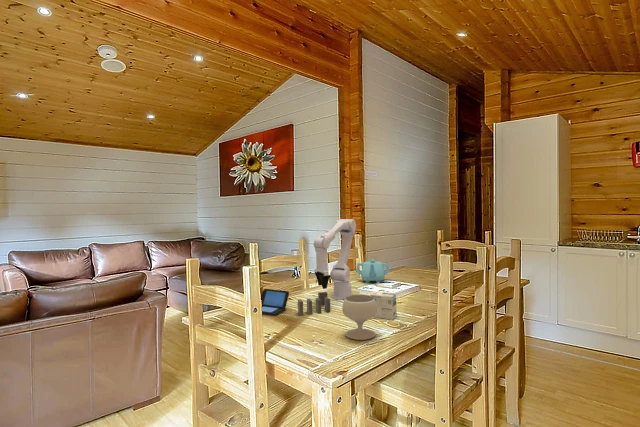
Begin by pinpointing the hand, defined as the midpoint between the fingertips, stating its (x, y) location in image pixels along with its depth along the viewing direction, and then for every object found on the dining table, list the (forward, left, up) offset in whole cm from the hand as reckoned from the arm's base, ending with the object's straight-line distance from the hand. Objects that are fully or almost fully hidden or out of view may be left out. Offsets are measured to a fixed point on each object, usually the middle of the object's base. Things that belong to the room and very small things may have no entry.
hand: (322, 286), depth 194 cm
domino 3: (+5, +11, -10) cm, 16 cm away
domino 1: (+14, +11, -10) cm, 21 cm away
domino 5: (+1, +11, -10) cm, 15 cm away
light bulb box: (-21, +28, -10) cm, 36 cm away
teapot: (-45, -38, -10) cm, 60 cm away
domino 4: (0, 0, -10) cm, 10 cm away
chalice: (-2, +46, -10) cm, 47 cm away
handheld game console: (+28, 0, -10) cm, 29 cm away
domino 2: (+10, +11, -10) cm, 18 cm away
